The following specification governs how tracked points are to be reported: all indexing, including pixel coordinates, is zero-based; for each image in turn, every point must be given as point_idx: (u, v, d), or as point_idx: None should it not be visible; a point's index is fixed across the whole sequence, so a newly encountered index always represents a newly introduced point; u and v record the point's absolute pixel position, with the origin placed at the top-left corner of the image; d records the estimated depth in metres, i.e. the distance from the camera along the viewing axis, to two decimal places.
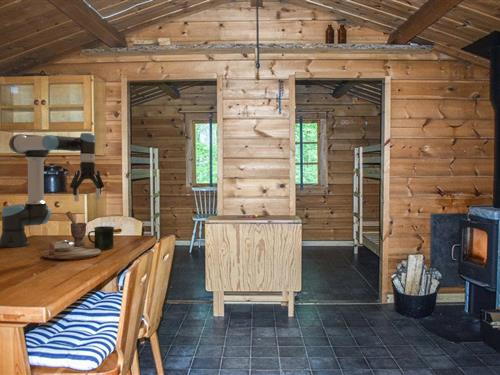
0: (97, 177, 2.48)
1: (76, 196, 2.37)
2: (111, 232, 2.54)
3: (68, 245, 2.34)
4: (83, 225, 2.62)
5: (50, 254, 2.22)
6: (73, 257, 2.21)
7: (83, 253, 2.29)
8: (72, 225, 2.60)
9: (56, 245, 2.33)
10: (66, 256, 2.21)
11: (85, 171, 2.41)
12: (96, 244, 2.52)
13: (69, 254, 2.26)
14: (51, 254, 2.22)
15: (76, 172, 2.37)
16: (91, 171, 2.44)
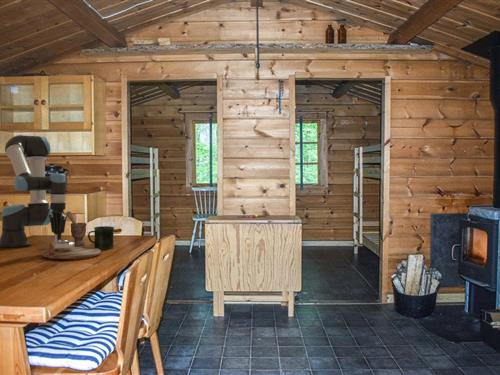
0: None
1: None
2: (111, 232, 2.54)
3: (68, 245, 2.34)
4: (83, 225, 2.62)
5: (50, 254, 2.22)
6: (73, 257, 2.21)
7: (83, 253, 2.29)
8: (72, 225, 2.60)
9: (56, 245, 2.33)
10: (66, 256, 2.21)
11: (53, 210, 2.40)
12: (96, 244, 2.52)
13: (69, 254, 2.26)
14: (51, 254, 2.22)
15: None
16: (58, 210, 2.37)
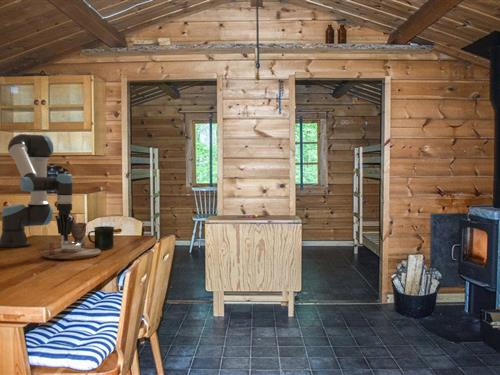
0: None
1: None
2: (111, 232, 2.54)
3: (75, 246, 2.31)
4: (83, 225, 2.62)
5: (50, 254, 2.22)
6: (73, 257, 2.21)
7: (83, 253, 2.29)
8: (72, 225, 2.60)
9: (63, 246, 2.30)
10: (66, 256, 2.21)
11: (59, 211, 2.37)
12: (96, 244, 2.52)
13: (69, 254, 2.26)
14: (51, 254, 2.22)
15: None
16: (65, 211, 2.34)
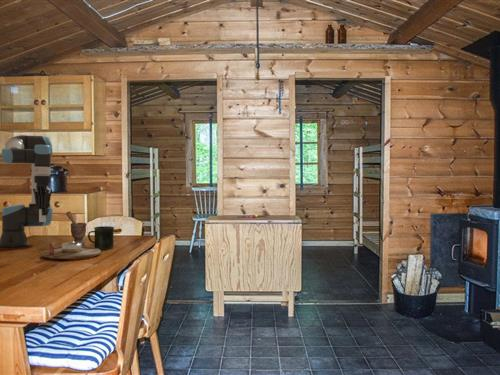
0: None
1: None
2: (111, 232, 2.54)
3: (76, 246, 2.31)
4: (83, 225, 2.62)
5: (50, 254, 2.22)
6: (73, 257, 2.21)
7: (83, 253, 2.29)
8: (72, 225, 2.60)
9: (64, 246, 2.29)
10: (66, 256, 2.21)
11: (37, 184, 2.27)
12: (96, 244, 2.52)
13: (69, 254, 2.26)
14: (51, 254, 2.22)
15: None
16: (43, 184, 2.24)
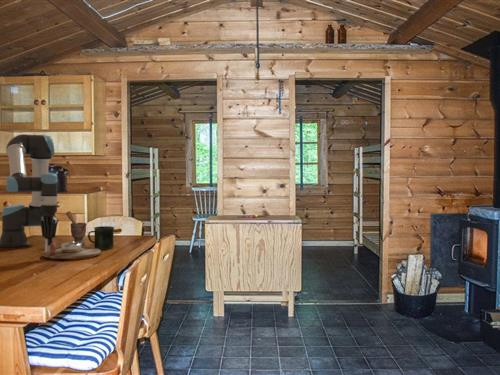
0: None
1: None
2: (111, 232, 2.54)
3: (76, 246, 2.31)
4: (83, 225, 2.62)
5: (51, 254, 2.22)
6: (75, 257, 2.21)
7: (84, 253, 2.30)
8: (72, 225, 2.60)
9: (64, 246, 2.29)
10: (68, 256, 2.21)
11: (43, 213, 2.24)
12: (96, 244, 2.52)
13: (70, 254, 2.26)
14: (52, 254, 2.22)
15: None
16: (49, 213, 2.21)
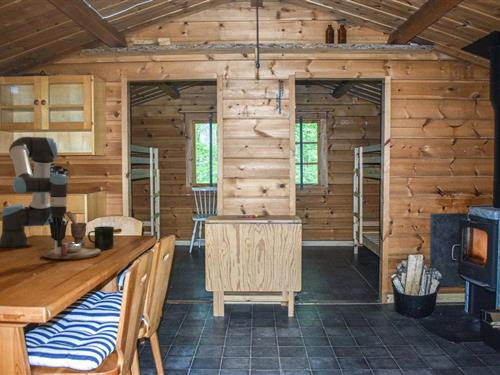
0: None
1: None
2: (111, 232, 2.54)
3: (80, 246, 2.33)
4: (83, 225, 2.62)
5: (64, 255, 2.21)
6: (90, 255, 2.26)
7: (89, 251, 2.34)
8: (72, 225, 2.60)
9: (68, 247, 2.29)
10: (83, 255, 2.24)
11: (52, 215, 2.20)
12: (96, 244, 2.52)
13: (79, 253, 2.28)
14: (65, 255, 2.21)
15: None
16: (59, 215, 2.17)
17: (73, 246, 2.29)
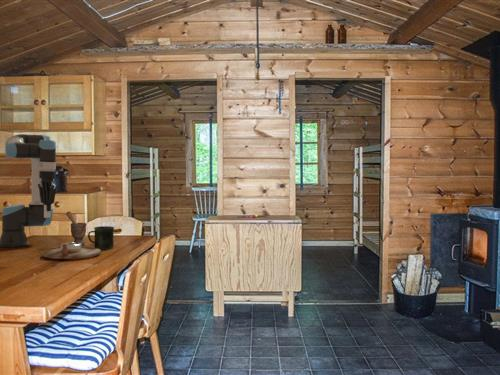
0: None
1: None
2: (111, 232, 2.54)
3: (80, 246, 2.33)
4: (83, 225, 2.62)
5: (65, 255, 2.21)
6: (91, 255, 2.27)
7: (89, 251, 2.34)
8: (72, 225, 2.60)
9: (69, 247, 2.29)
10: (84, 255, 2.25)
11: (42, 179, 2.25)
12: (96, 244, 2.52)
13: (80, 253, 2.28)
14: (66, 255, 2.21)
15: None
16: (48, 179, 2.22)
17: (73, 246, 2.29)
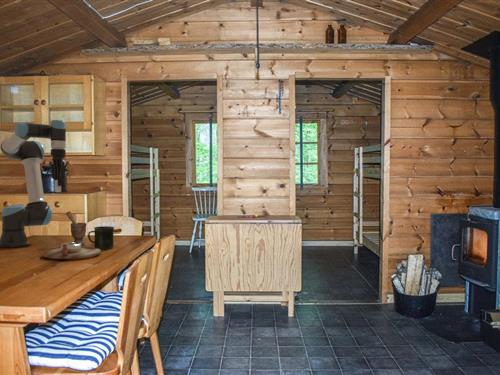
0: None
1: None
2: (111, 232, 2.54)
3: (80, 246, 2.33)
4: (83, 225, 2.62)
5: (65, 255, 2.21)
6: (91, 255, 2.27)
7: (89, 251, 2.34)
8: (72, 225, 2.60)
9: (69, 247, 2.29)
10: (84, 255, 2.25)
11: (53, 157, 2.44)
12: (96, 244, 2.52)
13: (80, 253, 2.28)
14: (66, 255, 2.21)
15: None
16: (58, 156, 2.41)
17: (73, 246, 2.29)
